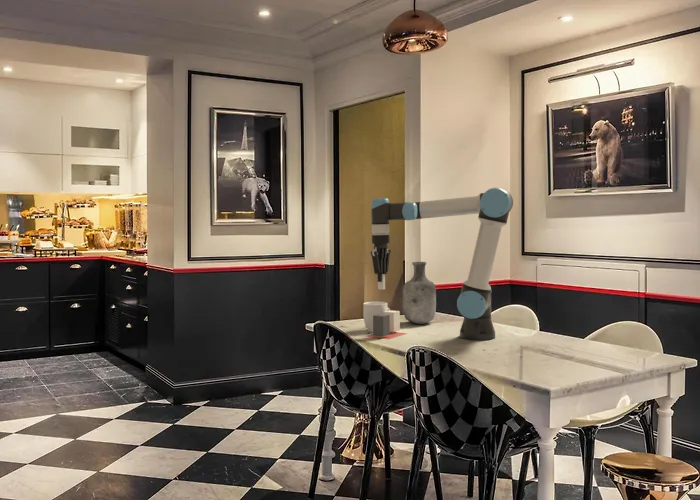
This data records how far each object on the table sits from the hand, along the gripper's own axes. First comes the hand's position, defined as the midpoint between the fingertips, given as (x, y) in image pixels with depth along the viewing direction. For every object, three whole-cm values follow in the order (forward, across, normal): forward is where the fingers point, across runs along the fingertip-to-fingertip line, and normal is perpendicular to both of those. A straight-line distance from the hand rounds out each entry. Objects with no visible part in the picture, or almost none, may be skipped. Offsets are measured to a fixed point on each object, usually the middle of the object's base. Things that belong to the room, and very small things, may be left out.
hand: (381, 289), depth 294 cm
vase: (+22, -43, -5) cm, 48 cm away
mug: (+22, -14, -11) cm, 28 cm away
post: (+21, 0, 0) cm, 21 cm away
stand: (+21, -6, -1) cm, 22 cm away
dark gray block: (+20, 0, 0) cm, 20 cm away
